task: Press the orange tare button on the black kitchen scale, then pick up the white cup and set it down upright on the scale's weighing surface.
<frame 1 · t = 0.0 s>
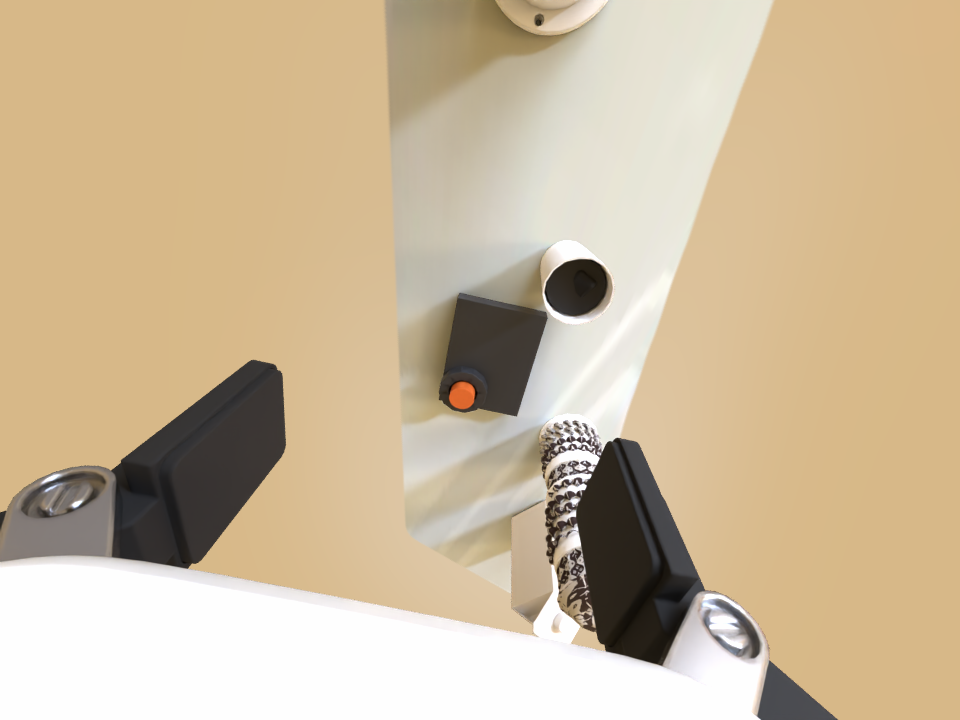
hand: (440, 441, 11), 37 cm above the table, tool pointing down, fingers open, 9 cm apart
milk carton: (540, 518, 65), on the table
scale: (490, 354, 51), on the table
tare button: (462, 395, 49), point 4 cm above the table, slide at 0.1 cm
decorative candle: (567, 436, 56), on the table
white cup: (564, 265, 45), on the table
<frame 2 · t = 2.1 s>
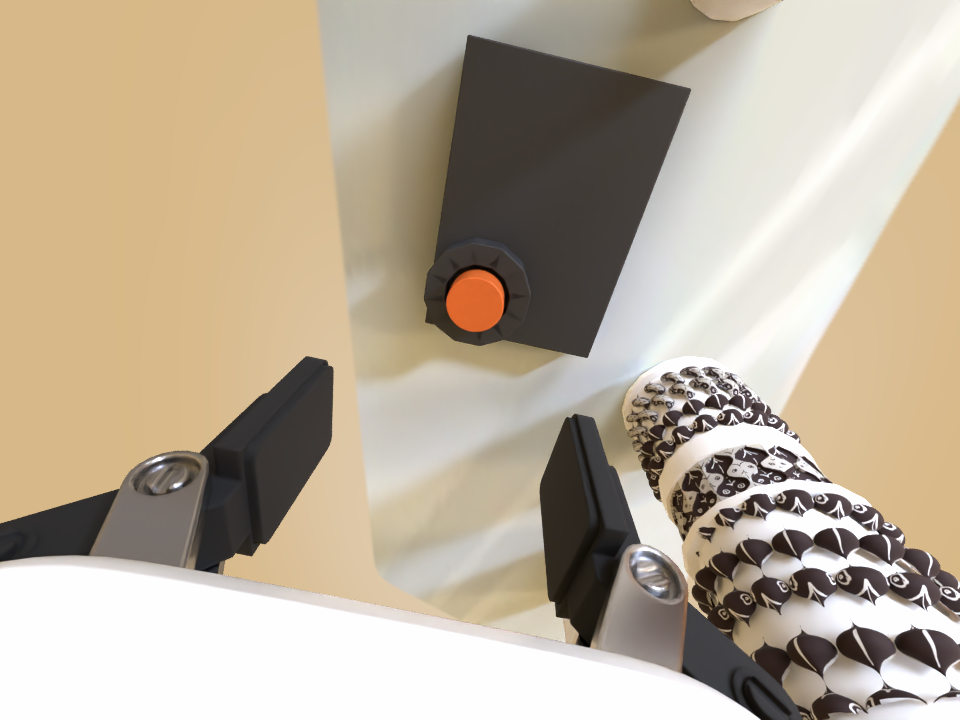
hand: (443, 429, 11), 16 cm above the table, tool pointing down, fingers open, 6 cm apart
scale: (536, 219, 23), on the table
tare button: (476, 300, 22), point 4 cm above the table, slide at 0.1 cm
decorative candle: (678, 404, 29), on the table
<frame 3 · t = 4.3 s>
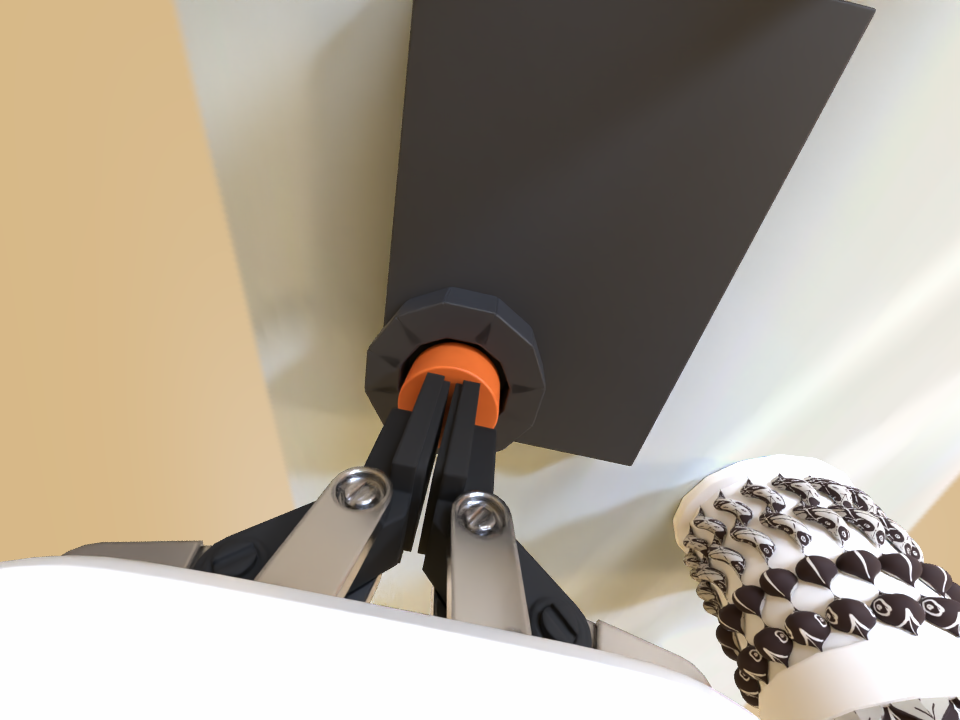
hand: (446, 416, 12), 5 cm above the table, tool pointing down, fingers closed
scale: (552, 252, 14), on the table
tare button: (451, 395, 13), point 4 cm above the table, slide at 0.0 cm, touching gripper
decorative candle: (757, 514, 20), on the table
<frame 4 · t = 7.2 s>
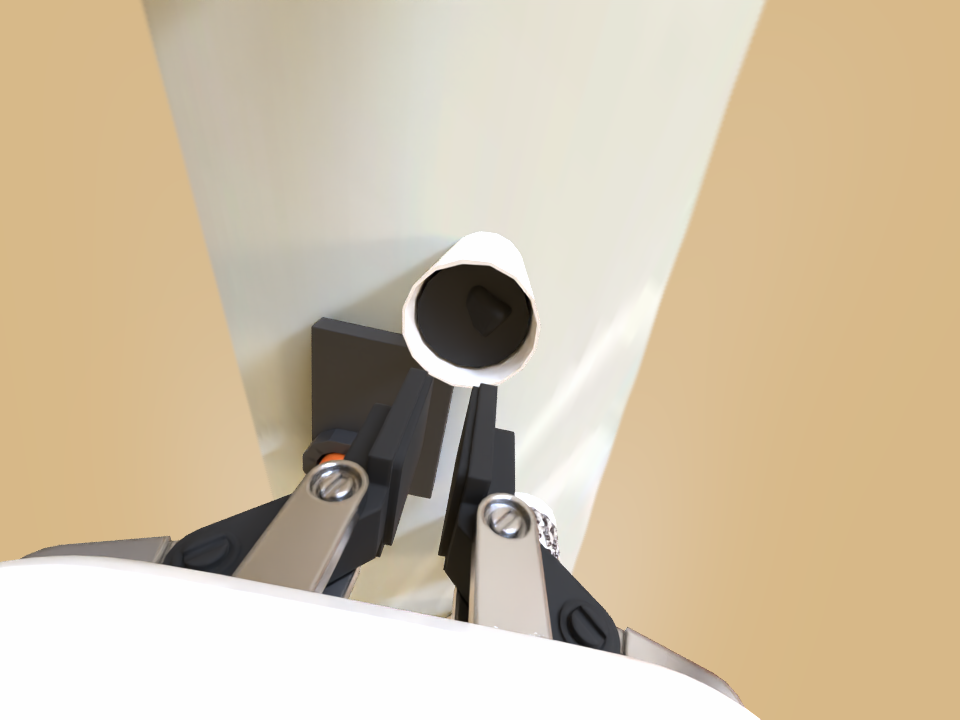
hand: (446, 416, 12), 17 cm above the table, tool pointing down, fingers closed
scale: (384, 409, 33), on the table
tare button: (335, 474, 32), point 4 cm above the table, slide at 0.1 cm
decorative candle: (512, 520, 39), on the table
white cup: (484, 273, 27), on the table
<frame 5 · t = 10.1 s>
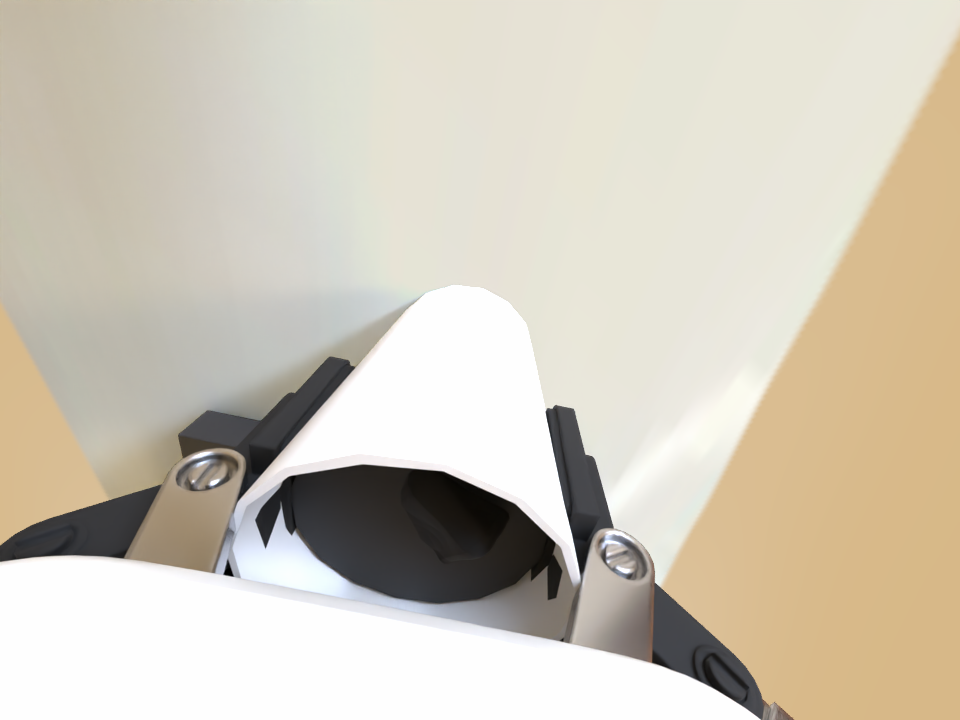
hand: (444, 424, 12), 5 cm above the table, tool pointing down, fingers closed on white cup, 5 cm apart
scale: (319, 532, 22), on the table
white cup: (463, 350, 16), on the table, touching gripper
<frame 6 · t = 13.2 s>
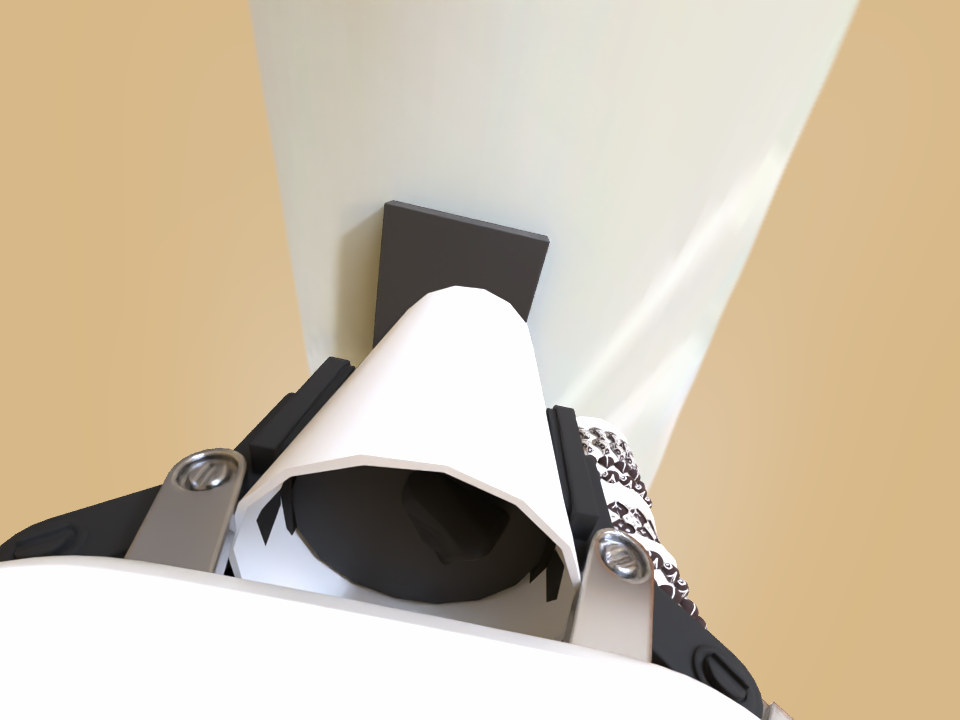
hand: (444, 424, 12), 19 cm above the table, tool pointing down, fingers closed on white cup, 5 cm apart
scale: (452, 316, 30), on the table
decorative candle: (580, 451, 36), on the table
white cup: (464, 351, 16), point 13 cm above the table, touching gripper
when the fingers open (7 cm above the table, at t = 16.3 s): white cup stays where it is, resting on scale.
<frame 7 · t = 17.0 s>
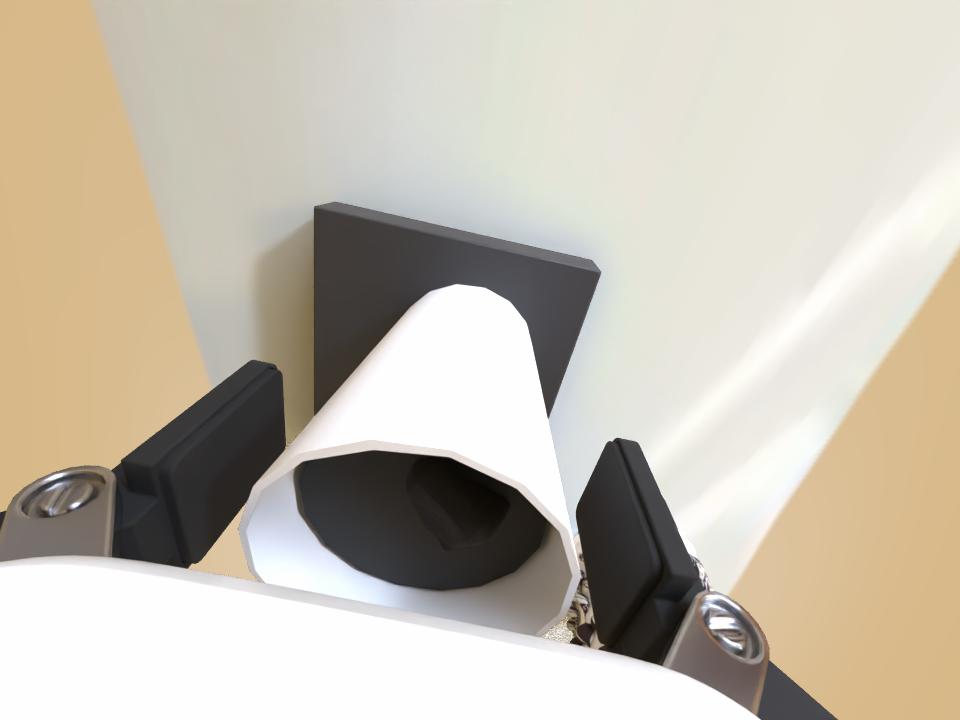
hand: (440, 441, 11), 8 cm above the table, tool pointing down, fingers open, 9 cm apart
scale: (437, 381, 19), on the table
decorative candle: (624, 560, 25), on the table
white cup: (464, 348, 17), point 2 cm above the table, touching scale
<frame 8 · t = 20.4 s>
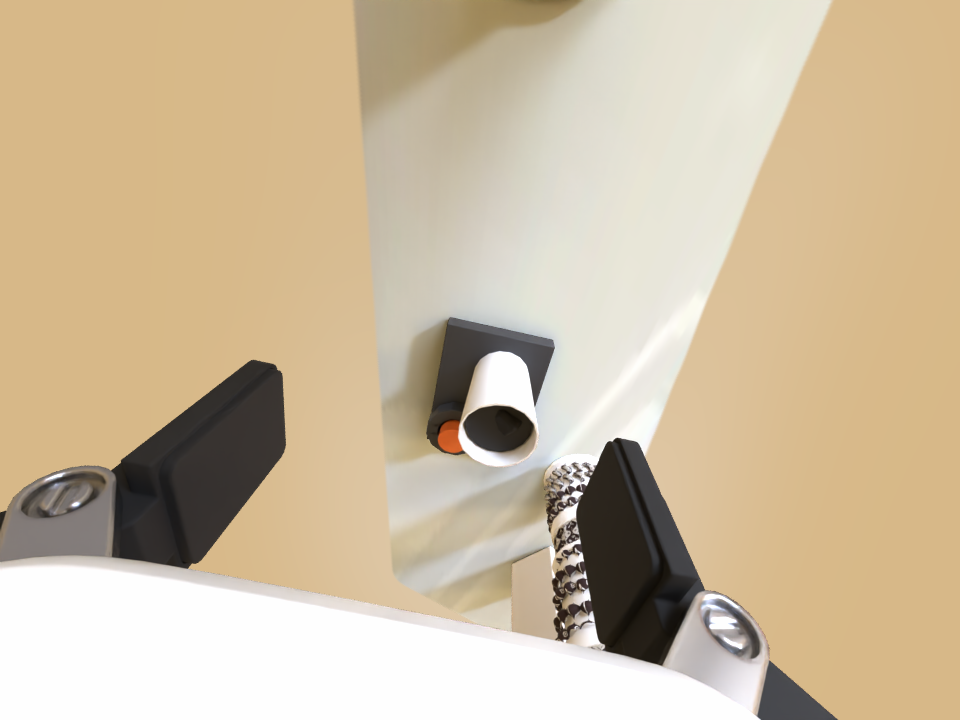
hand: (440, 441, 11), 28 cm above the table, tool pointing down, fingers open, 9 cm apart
milk carton: (544, 565, 57), on the table
scale: (486, 387, 43), on the table
tare button: (453, 436, 42), point 4 cm above the table, slide at 0.1 cm
decorative candle: (576, 478, 49), on the table
white cup: (501, 374, 40), point 2 cm above the table, touching scale
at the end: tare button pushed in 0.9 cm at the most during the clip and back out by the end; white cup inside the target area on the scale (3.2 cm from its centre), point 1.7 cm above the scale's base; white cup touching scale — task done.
